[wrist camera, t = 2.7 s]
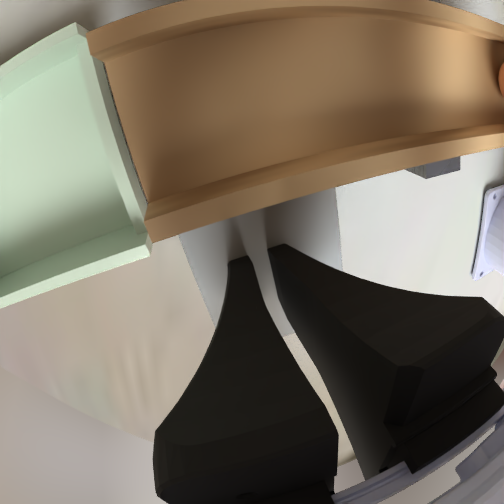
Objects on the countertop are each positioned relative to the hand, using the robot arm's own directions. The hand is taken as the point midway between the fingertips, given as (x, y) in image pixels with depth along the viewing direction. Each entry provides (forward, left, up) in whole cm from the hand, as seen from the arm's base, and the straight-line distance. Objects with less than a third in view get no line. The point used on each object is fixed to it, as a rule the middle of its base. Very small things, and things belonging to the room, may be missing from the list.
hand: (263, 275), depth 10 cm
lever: (-6, -3, -1) cm, 7 cm away
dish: (+9, -6, -4) cm, 11 cm away
